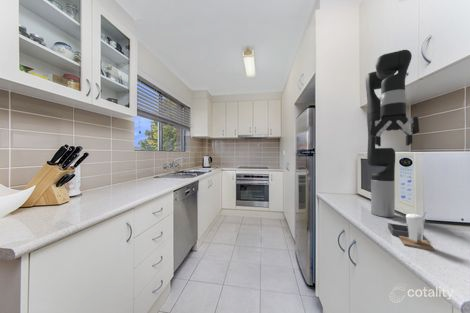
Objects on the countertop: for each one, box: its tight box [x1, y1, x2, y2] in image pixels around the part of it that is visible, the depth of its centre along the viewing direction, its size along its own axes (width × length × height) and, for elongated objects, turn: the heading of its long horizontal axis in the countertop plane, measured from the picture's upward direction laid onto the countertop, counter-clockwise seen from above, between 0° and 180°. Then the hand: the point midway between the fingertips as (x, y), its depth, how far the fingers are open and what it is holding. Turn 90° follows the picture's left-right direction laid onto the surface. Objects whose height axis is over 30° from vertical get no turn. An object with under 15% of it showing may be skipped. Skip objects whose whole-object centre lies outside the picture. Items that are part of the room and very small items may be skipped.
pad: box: [398, 236, 436, 252], centre depth 61 cm, size 7×7×1 cm
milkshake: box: [405, 211, 427, 244], centre depth 61 cm, size 4×5×10 cm
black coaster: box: [387, 222, 425, 240], centre depth 68 cm, size 8×8×2 cm
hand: (392, 145), depth 71 cm, fingers open, 8 cm apart
